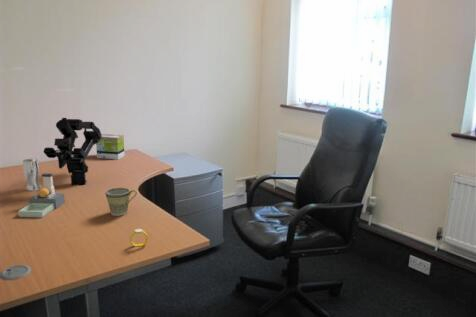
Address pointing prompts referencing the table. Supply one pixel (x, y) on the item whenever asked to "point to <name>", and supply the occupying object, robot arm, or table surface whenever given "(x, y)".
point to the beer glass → (31, 174)
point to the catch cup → (36, 210)
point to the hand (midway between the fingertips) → (60, 168)
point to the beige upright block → (48, 182)
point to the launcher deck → (49, 199)
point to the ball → (43, 192)
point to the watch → (138, 233)
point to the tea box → (110, 146)
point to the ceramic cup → (118, 200)
